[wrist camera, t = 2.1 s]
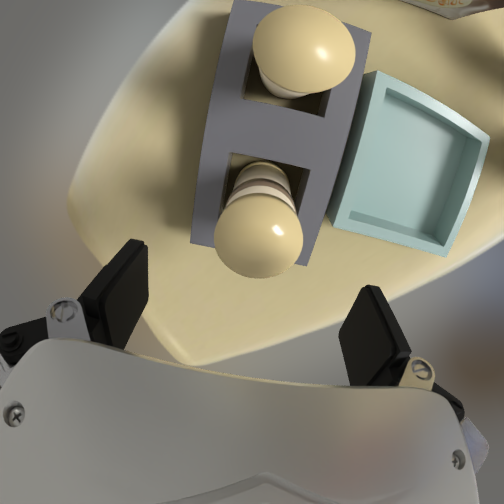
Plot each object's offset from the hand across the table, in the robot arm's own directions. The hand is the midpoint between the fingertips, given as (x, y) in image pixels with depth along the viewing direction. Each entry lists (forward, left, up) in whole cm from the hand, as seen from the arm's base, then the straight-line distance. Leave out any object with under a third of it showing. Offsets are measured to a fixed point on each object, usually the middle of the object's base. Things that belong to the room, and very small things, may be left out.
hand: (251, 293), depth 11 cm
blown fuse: (-1, 0, -14) cm, 14 cm away
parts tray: (-6, +13, -14) cm, 19 cm away
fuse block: (-6, 0, -14) cm, 15 cm away
